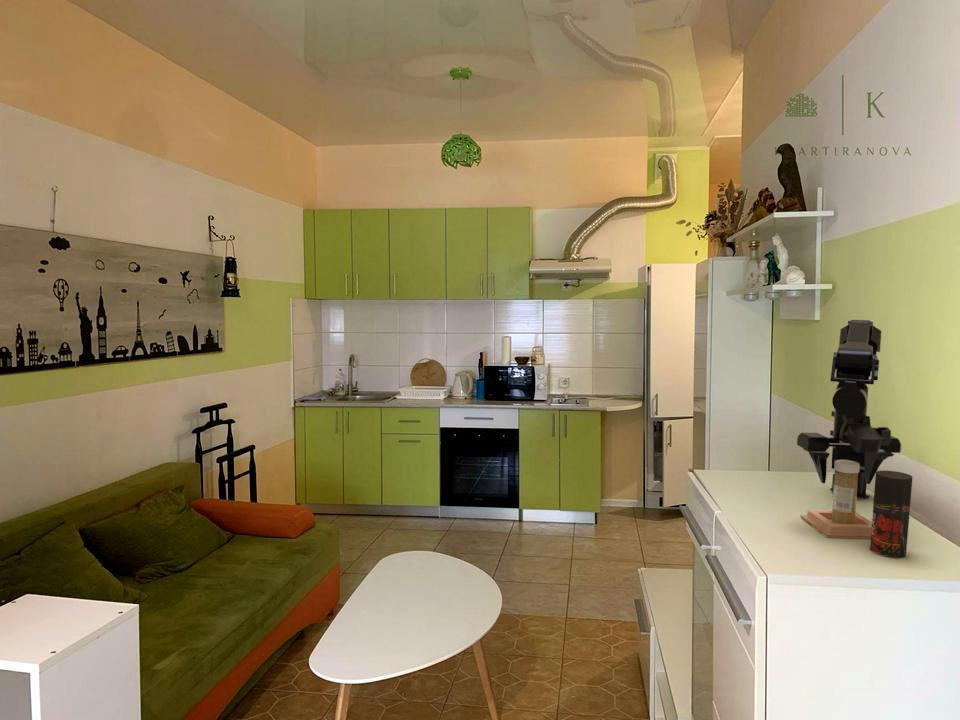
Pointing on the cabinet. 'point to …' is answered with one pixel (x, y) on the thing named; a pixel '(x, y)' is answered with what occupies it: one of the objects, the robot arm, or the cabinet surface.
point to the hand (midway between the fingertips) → (845, 483)
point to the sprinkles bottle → (845, 492)
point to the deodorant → (891, 514)
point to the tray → (838, 525)
